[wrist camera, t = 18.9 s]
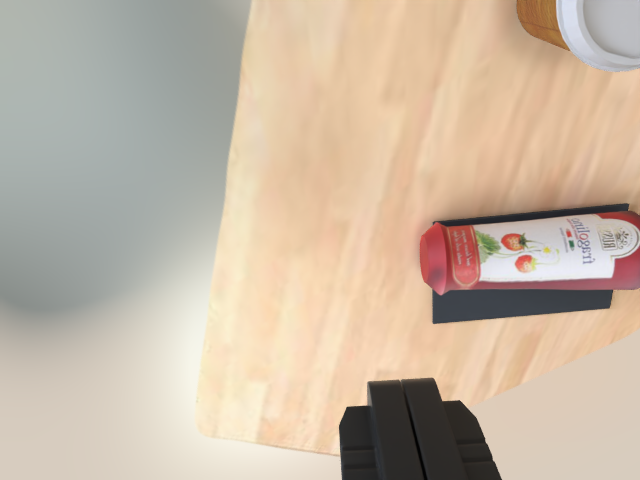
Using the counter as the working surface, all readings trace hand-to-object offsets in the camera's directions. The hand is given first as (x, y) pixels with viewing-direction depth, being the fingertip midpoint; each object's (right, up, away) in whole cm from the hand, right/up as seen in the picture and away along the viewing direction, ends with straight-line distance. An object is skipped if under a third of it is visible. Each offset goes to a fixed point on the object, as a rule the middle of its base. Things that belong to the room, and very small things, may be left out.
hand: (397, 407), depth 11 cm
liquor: (+8, +2, +34) cm, 35 cm away
